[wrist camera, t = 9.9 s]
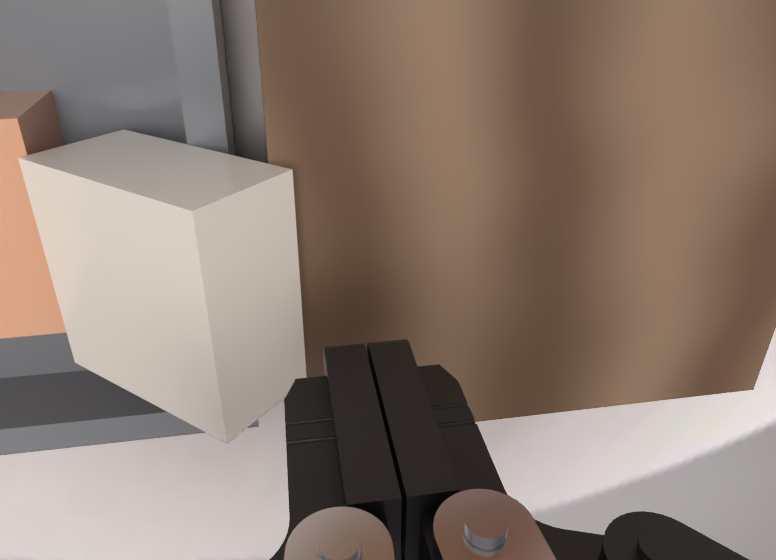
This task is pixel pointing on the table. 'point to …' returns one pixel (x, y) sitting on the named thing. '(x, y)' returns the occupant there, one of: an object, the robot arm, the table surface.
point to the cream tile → (174, 272)
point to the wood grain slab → (533, 190)
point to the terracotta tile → (25, 217)
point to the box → (92, 119)
